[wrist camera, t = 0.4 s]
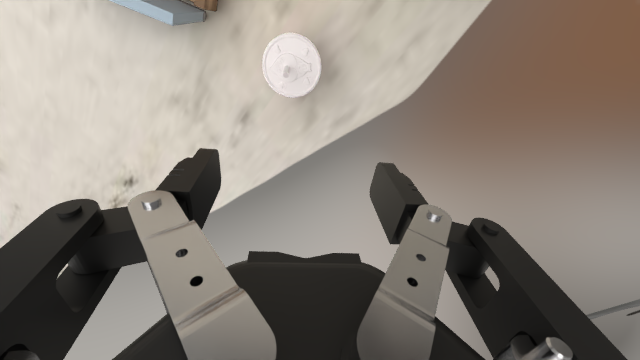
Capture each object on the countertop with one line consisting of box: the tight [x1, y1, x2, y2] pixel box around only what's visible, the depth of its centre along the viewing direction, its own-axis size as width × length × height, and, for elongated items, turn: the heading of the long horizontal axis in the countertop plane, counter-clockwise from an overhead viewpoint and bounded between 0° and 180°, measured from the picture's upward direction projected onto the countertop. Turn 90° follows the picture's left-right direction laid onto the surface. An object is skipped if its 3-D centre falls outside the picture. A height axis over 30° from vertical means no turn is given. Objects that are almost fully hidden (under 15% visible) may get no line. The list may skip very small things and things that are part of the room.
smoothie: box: [262, 32, 321, 98], centre depth 28 cm, size 6×6×14 cm
